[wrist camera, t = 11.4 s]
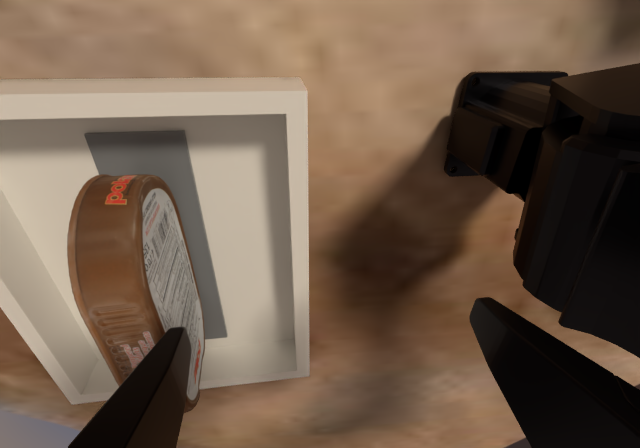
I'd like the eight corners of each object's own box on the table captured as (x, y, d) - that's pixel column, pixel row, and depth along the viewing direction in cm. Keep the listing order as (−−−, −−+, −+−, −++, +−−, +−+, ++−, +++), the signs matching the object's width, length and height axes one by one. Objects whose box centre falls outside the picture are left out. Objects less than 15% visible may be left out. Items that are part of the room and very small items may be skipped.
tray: (299, 77, 18) (307, 90, 15) (304, 336, 30) (309, 376, 27) (-66, 79, 16) (-154, 96, 13) (95, 357, 28) (71, 404, 24)
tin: (114, 150, 18) (13, 238, 11) (175, 147, 18) (117, 232, 11) (175, 333, 26) (141, 452, 19) (217, 329, 26) (198, 445, 19)
